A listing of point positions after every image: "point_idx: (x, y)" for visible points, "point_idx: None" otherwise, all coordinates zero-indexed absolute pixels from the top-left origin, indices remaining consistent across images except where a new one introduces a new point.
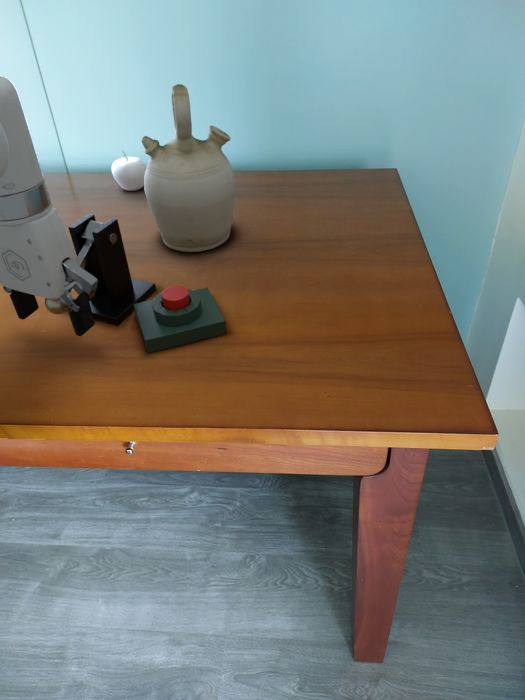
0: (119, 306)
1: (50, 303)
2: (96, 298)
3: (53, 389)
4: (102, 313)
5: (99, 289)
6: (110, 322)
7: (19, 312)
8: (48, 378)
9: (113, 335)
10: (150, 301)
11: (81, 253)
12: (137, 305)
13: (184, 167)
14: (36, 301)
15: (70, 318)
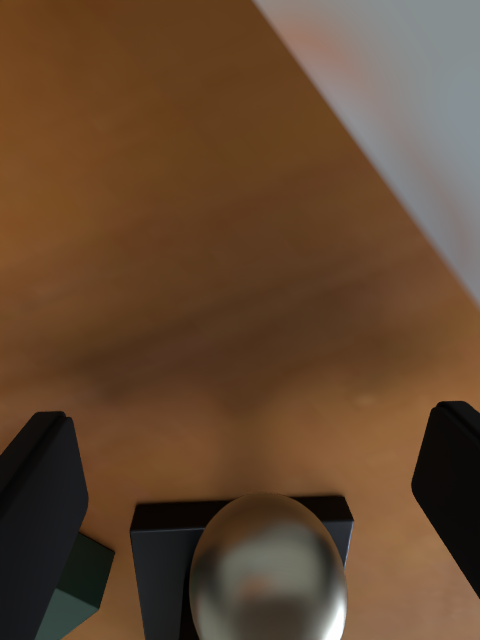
0: (170, 576)
1: (261, 575)
2: None
3: (71, 133)
4: (198, 535)
5: None
6: (163, 509)
7: (475, 432)
8: (150, 186)
9: (112, 467)
10: (54, 636)
11: None
12: (80, 610)
13: None
14: (434, 524)
15: (4, 513)
